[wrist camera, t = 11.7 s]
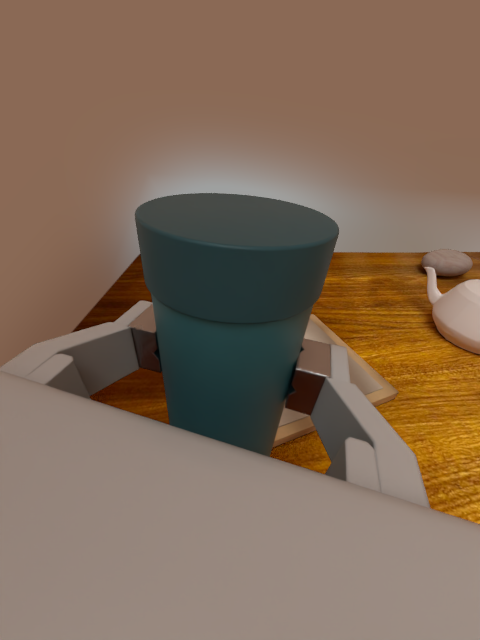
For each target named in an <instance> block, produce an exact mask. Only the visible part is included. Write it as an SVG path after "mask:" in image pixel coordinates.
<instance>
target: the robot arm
mask: <svg viewBox="0 0 480 640" xmlns="http://www.w3.org/2000/svg"><path fill="white" fill-rule="evenodd" d="M139 367H140V368H144V369H148V370H152V371H156V372H160V373H161V372H162V366H161V359H160V352H159V345H158V338H157V331H156V324H155V317H154V310H153V303H152V302H147V301H139V302H138V303H137V304H136V305H134V306H133V307H132V308H131V309H129V310H128V311H127V312H126V313H125V314H123V315H122V316H121V317H120V318H119V319H117V320H116V321H115V322H114V323H111V322H108V323H104V324H101V325H97V326H94V327H91V328H87V329H84V330H80V331H77V332H74V333H70V334H67V335H64V336H60V337H57V338H53V339H50V340H46V341H43V342H40V343H36V344H34V345H32V346H31V347H29V348H28V349H26V350H25V351H23V352H22V353H20V354H19V355H17V356H16V357H14V358H13V359H11V360H10V361H9V362H7V363H5V364H4V365H3V366H1V367H0V640H480V524H477V523H474V522H471V521H468V520H465V519H462V518H459V517H455V516H452V515H449V514H446V513H443V512H440V511H437V510H434V509H430V505H429V502H428V498H427V495H426V491H425V487H424V484H423V480H422V477H421V473H420V470H419V466H418V463H417V459H416V455H415V454H414V453H413V452H412V450H411V449H410V448H409V447H408V446H407V444H406V443H405V442H404V441H403V440H402V439H401V437H400V436H399V435H398V434H397V433H396V432H395V430H394V429H393V428H392V427H391V426H390V425H389V423H388V422H387V421H386V420H385V419H384V417H383V416H382V415H381V414H380V413H379V412H378V410H377V409H376V408H375V407H374V406H373V405H372V403H371V402H370V401H369V400H368V399H367V398H366V396H365V395H364V394H363V393H362V392H361V390H360V389H359V388H358V387H357V386H356V385H355V384H352V383H350V374H349V364H348V354H347V348H346V347H344V346H339V345H334V344H327V343H322V342H318V341H313V340H309V339H305V338H304V339H303V342H302V346H301V349H300V353H299V356H298V358H297V361H296V365H295V368H294V372H293V376H292V380H291V383H290V386H289V389H288V393H287V396H286V403H285V408H287V409H290V410H293V411H297V412H300V413H303V414H306V415H310V418H311V420H312V422H313V424H314V426H315V428H316V430H317V432H318V434H319V437H320V439H321V441H322V443H323V445H324V447H325V449H326V451H327V453H328V455H329V458H330V460H331V462H332V463H331V465H330V467H329V468H328V470H327V472H326V473H325V474H321V473H318V472H315V471H312V470H309V469H306V468H303V467H300V466H296V465H293V464H290V463H287V462H284V461H281V460H278V459H275V458H271V457H268V456H265V455H262V454H259V453H256V452H253V451H250V450H246V449H243V448H240V447H237V446H234V445H231V444H228V443H224V442H221V441H218V440H215V439H212V438H209V437H206V436H203V435H199V434H196V433H193V432H190V431H187V430H184V429H181V428H178V427H174V426H171V425H168V424H165V423H162V422H159V421H156V420H153V419H150V418H147V417H143V416H140V415H137V414H134V413H131V412H128V411H125V410H122V409H119V408H116V407H112V406H109V405H106V404H103V403H100V402H97V401H94V400H91V399H90V397H89V396H91V395H92V394H94V393H96V392H98V391H100V390H101V389H103V388H105V387H107V386H109V385H110V384H112V383H114V382H116V381H118V380H119V379H121V378H123V377H125V376H127V375H128V374H130V373H132V372H134V371H136V370H137V369H139Z"/></svg>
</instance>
